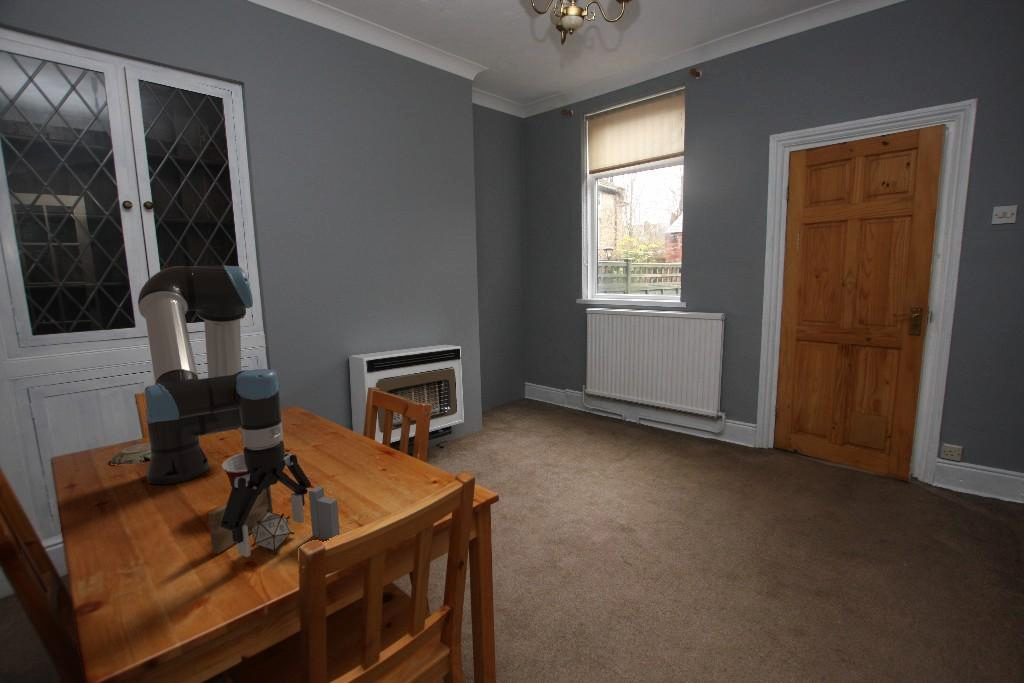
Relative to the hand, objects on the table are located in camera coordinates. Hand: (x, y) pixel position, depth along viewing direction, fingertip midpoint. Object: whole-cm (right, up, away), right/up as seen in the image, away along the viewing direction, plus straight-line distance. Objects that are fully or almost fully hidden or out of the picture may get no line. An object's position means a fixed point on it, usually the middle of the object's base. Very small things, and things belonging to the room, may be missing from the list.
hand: (273, 537), depth 101 cm
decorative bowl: (-70, +4, +51) cm, 87 cm away
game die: (0, -3, +1) cm, 3 cm away
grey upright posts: (+1, -1, +9) cm, 9 cm away
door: (-10, -2, +6) cm, 11 cm away
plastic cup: (-16, 0, +20) cm, 26 cm away
